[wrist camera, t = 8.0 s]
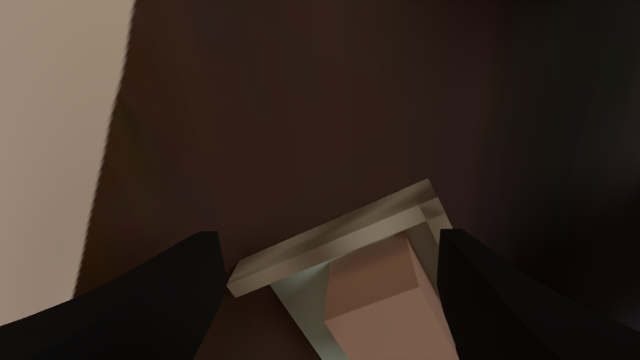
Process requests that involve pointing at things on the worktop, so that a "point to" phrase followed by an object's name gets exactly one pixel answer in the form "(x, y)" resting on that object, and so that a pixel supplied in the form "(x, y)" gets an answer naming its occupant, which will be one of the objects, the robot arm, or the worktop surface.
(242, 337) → the worktop surface
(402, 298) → the terracotta cube
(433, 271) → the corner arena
